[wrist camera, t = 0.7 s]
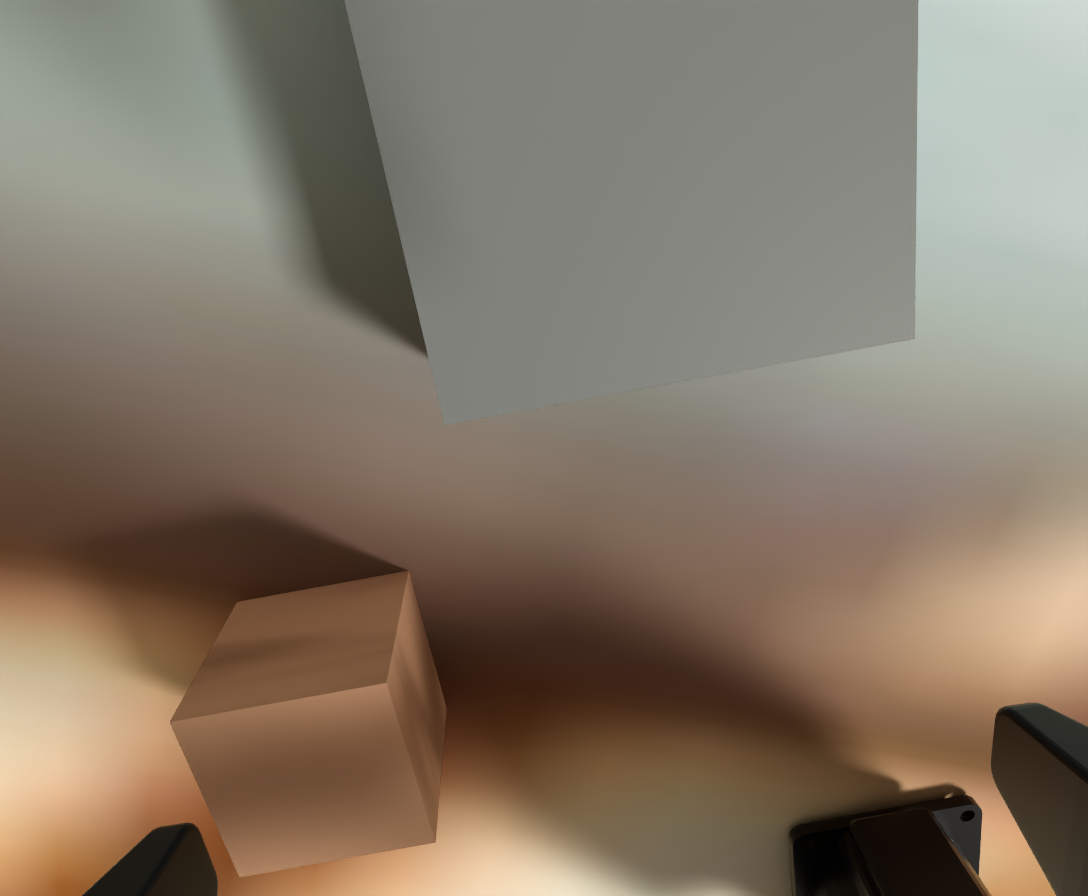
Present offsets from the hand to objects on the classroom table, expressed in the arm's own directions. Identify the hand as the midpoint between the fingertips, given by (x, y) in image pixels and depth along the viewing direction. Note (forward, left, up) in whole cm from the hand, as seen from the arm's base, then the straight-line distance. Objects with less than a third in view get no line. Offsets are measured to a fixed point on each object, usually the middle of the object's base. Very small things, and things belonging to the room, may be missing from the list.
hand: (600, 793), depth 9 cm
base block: (+7, -3, -13) cm, 15 cm away
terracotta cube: (-6, +7, -13) cm, 16 cm away
